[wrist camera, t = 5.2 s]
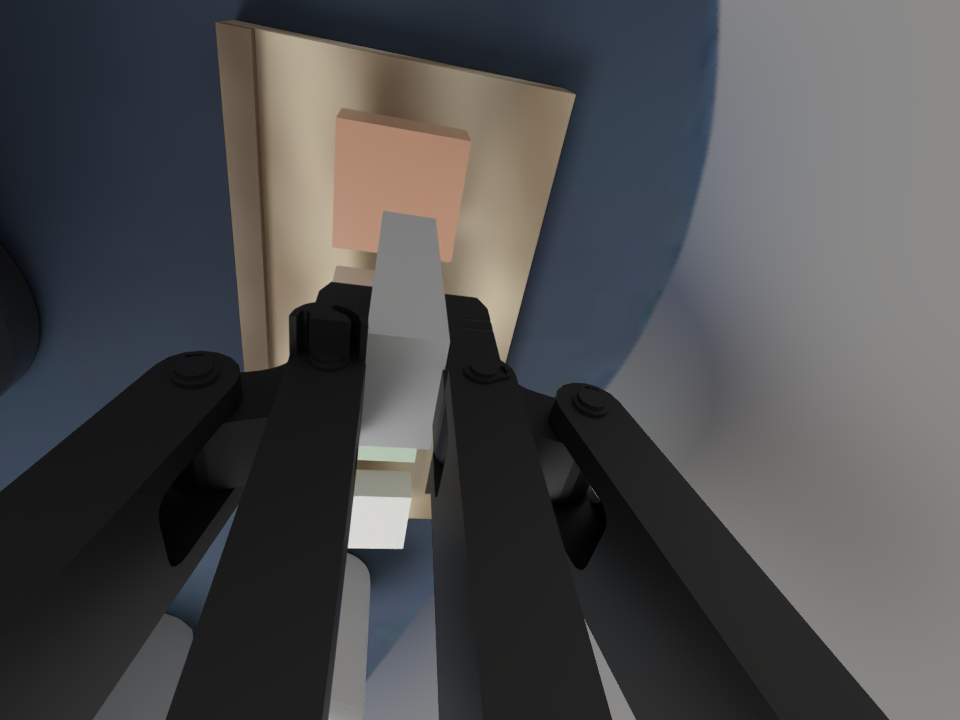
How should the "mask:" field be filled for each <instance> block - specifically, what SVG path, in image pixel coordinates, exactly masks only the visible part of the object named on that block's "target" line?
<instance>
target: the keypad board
mask: <svg viewBox="0 0 960 720" xmlns="http://www.w3.org/2000/svg"><path fill="white" fill-rule="evenodd" d="M215 25H216V37H217V49H218V61H219V73H220V84H221V96H222V108H223V120H224V132H225V144H226V156H227V168H228V180H229V192H230V204H231V216H232V228H233V240H234V252H235V263H236V275H237V287H238V299H239V311H240V323H241V335H242V347H243V359H244V371H245V372H250V371H259V370H265V369H271V368H274V367H277V366H280V365H283V364H285V363H287V362H288V359H289V315H290V314H291V312H292V311H293V310H294V309H295V308H297V307H299V306H302V305H304V304H307V303H312V302H316V299H317V296H318V293H319V290H321V289H322V288H323V287H325V286H326V285H328V284H329V283H330V282H332V280H333V276H334V273H335V269H336V265H337V266H346V267H354V268H362V269H371V270H375V266H376V259H377V253H373V252H366V251H358V250H350V249H342V248H334V247H332V236H333V201H334V166H335V131H336V116H337V115H338V113H339V111H340V110H341V108H346V109H352V110H357V111H363V112H368V113H374V114H379V115H385V116H390V117H396V118H401V119H407V120H412V121H418V122H423V123H429V124H434V125H440V126H445V127H451V128H456V129H462V130H466V131H467V133H468V135H469V137H470V139H471V147H470V153H469V159H468V165H467V171H466V177H465V183H464V189H463V195H462V201H461V207H460V213H459V219H458V225H457V231H456V237H455V243H454V248H453V254H452V260H451V262H444V261H441V268H442V277H443V285H444V294H451V295H459V296H467V297H475V298H478V299H479V300H480V301H481V302H482V303H483V304H484V305H485V307H486V308H487V309H488V312H489V316H490V322H491V324H492V328H493V332H494V336H495V340H496V344H497V348H498V352H499V356H500V360H501V361H503V362H504V363H506V359H507V355H508V351H509V347H510V344H511V340H512V336H513V332H514V328H515V325H516V321H517V317H518V313H519V309H520V305H521V302H522V298H523V294H524V290H525V286H526V283H527V279H528V275H529V271H530V267H531V264H532V260H533V256H534V252H535V248H536V245H537V241H538V237H539V233H540V229H541V225H542V222H543V218H544V214H545V210H546V206H547V203H548V199H549V195H550V191H551V187H552V184H553V180H554V176H555V172H556V168H557V164H558V161H559V157H560V153H561V149H562V145H563V142H564V138H565V134H566V130H567V126H568V123H569V119H570V115H571V111H572V107H573V104H574V100H575V96H576V94H574V93H572V92H570V91H568V90H566V89H564V88H560V87H555V86H551V85H546V84H541V83H536V82H531V81H526V80H522V79H517V78H512V77H507V76H502V75H498V74H493V73H488V72H483V71H478V70H473V69H469V68H464V67H459V66H454V65H449V64H444V63H440V62H435V61H430V60H425V59H420V58H415V57H411V56H406V55H401V54H396V53H391V52H386V51H382V50H377V49H372V48H367V47H362V46H358V45H353V44H348V43H343V42H338V41H333V40H329V39H324V38H319V37H314V36H309V35H304V34H300V33H295V32H290V31H285V30H280V29H275V28H271V27H266V26H261V25H256V24H251V23H246V22H242V21H237V20H231V21H221V22H215ZM432 454H433V435H432V441H431V446H430V450H429V449H417V452H416V458H415V463H413V462H391V461H369V460H357V469H358V470H382V471H406V472H411V492H412V498H411V504H410V510H409V516H408V518H419V519H432V515H431V493H430V494H425V490H426V485H427V480H428V475H429V469H430V464H431V459H432Z"/></svg>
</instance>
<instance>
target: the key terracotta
mask: <svg viewBox="0 0 960 720" xmlns="http://www.w3.org/2000/svg"><path fill="white" fill-rule="evenodd" d="M470 147H471V139H470V137H469V135H468V133H467V131H466V130H462V129H456V128H451V127H445V126H440V125H434V124H429V123H423V122H418V121H412V120H407V119H401V118H396V117H390V116H385V115H379V114H374V113H368V112H363V111H357V110H352V109H346V108H341V110H340V111H339V113H338V115H337V116H336V131H335V166H334V201H333V236H332V247H334V248H342V249H350V250H358V251H366V252H373V253H377V251H378V244H379V237H380V229H381V222H382V215H383V211H388V212H395V213H402V214H408V215H415V216H422V217H428V218H435V219H436V225H437V234H438V242H439V251H440V259H441V261H444V262H451V260H452V254H453V248H454V243H455V237H456V231H457V225H458V219H459V213H460V207H461V201H462V195H463V189H464V183H465V177H466V171H467V165H468V159H469V153H470Z"/></svg>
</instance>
